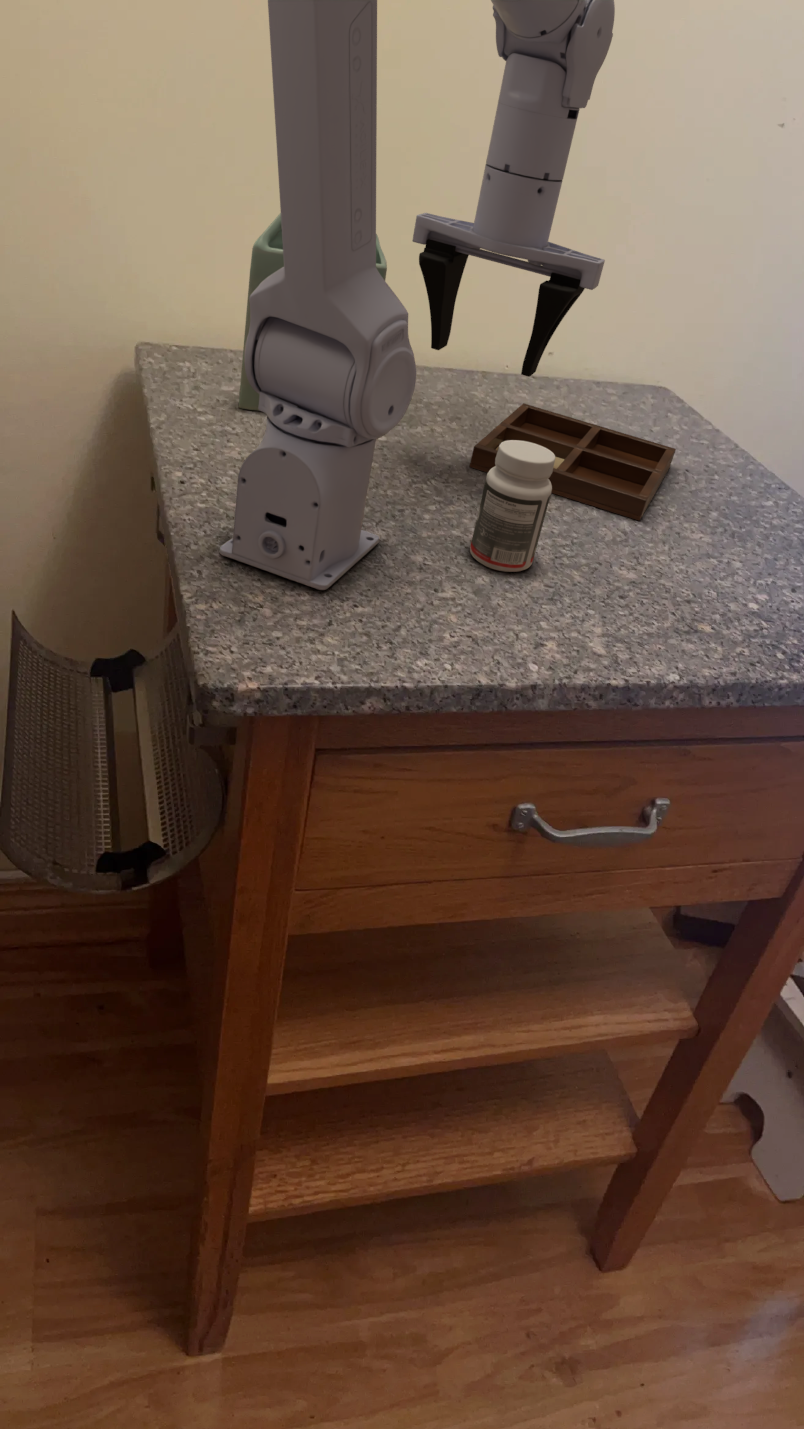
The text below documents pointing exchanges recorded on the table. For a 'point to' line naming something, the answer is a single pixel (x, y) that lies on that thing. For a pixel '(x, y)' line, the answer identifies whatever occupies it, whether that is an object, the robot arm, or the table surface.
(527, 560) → the pill bottle
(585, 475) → the tray
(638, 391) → the table surface
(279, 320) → the robot arm
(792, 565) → the table surface
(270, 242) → the green tall open box
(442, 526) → the table surface
